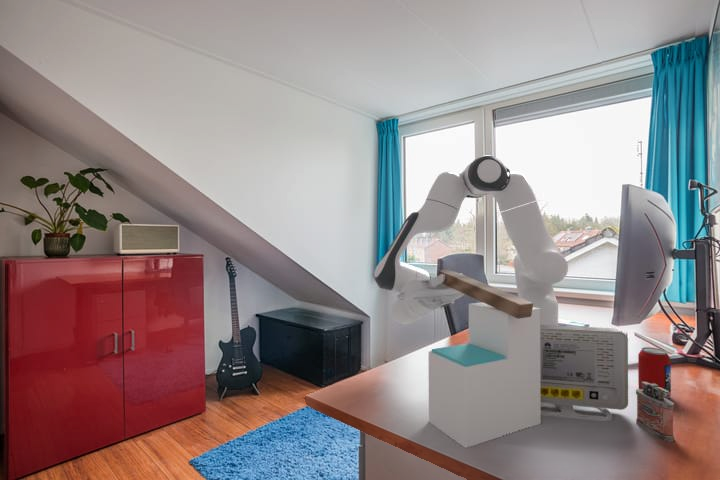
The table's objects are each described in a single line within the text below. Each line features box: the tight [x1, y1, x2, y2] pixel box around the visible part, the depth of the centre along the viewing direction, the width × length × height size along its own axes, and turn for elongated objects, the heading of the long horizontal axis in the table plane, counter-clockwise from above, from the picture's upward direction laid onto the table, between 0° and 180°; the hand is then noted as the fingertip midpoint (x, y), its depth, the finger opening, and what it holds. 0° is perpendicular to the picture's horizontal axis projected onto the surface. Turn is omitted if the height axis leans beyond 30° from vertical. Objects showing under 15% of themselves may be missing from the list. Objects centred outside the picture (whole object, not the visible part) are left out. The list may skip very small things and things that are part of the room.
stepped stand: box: [428, 302, 542, 449], centre depth 84 cm, size 12×22×26 cm, turn 116°
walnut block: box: [437, 269, 533, 319], centre depth 87 cm, size 26×4×3 cm, turn 28°
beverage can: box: [637, 346, 672, 399], centre depth 98 cm, size 7×7×12 cm
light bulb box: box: [558, 318, 590, 327], centre depth 137 cm, size 11×7×11 cm, turn 40°
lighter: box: [635, 382, 675, 442], centre depth 80 cm, size 8×3×10 cm, turn 5°
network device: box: [540, 325, 629, 422], centre depth 90 cm, size 26×9×20 cm, turn 77°
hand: (452, 276), depth 95 cm, fingers closed on walnut block, 4 cm apart
